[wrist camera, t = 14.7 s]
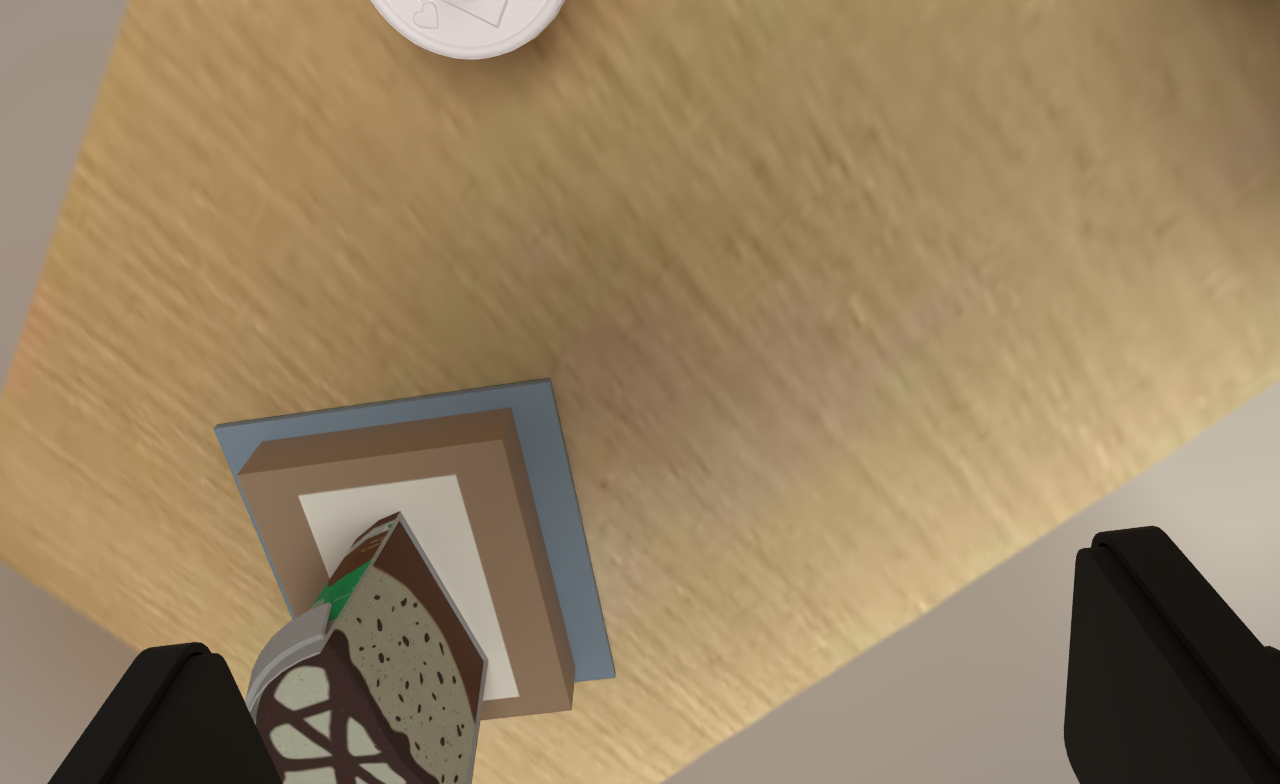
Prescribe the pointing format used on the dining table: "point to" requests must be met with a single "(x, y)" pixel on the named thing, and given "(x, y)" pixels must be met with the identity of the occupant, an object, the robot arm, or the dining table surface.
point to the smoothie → (469, 24)
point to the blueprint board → (442, 521)
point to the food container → (373, 674)
